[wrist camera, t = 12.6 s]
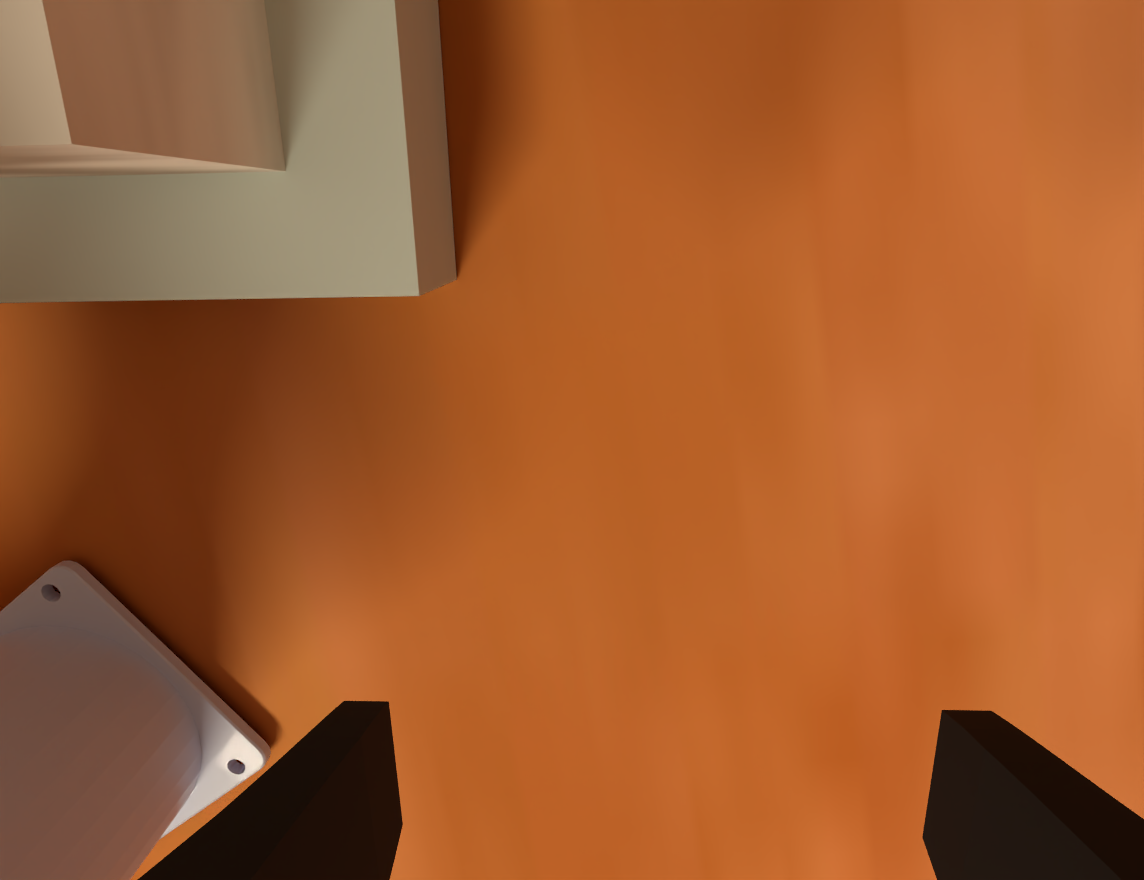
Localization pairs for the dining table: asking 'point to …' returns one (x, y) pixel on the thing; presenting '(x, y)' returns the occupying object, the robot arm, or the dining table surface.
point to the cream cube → (136, 88)
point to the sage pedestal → (270, 185)
